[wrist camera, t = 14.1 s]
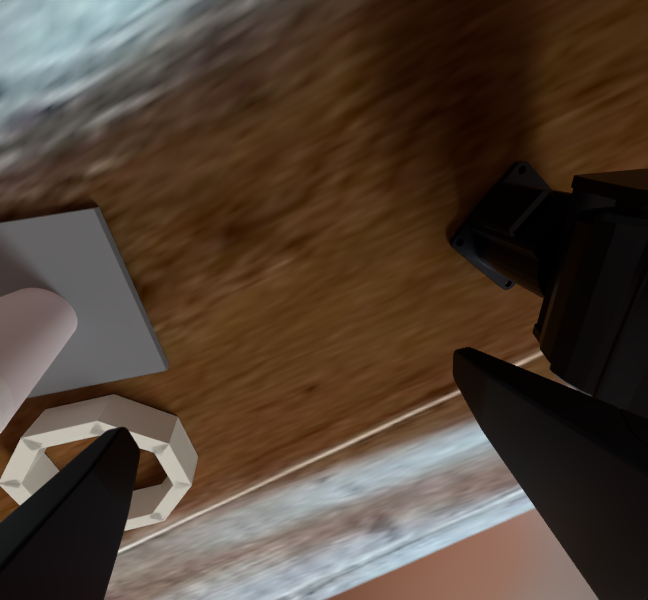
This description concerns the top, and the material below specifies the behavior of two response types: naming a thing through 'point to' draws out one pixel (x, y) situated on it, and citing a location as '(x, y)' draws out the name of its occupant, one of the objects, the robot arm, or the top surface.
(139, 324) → the mat
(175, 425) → the ring holder
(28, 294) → the smoothie
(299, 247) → the top surface
